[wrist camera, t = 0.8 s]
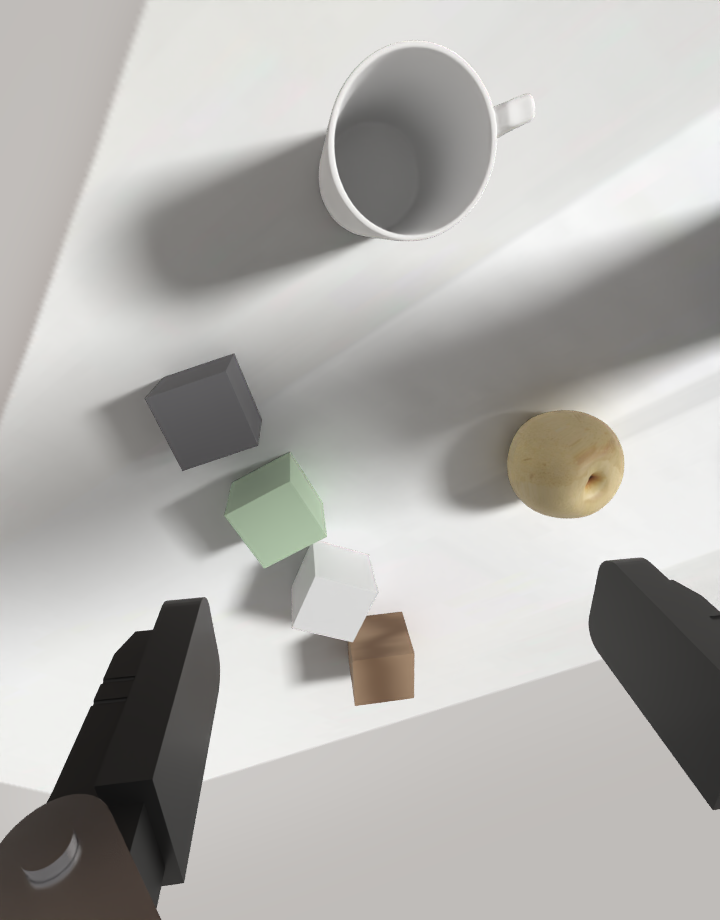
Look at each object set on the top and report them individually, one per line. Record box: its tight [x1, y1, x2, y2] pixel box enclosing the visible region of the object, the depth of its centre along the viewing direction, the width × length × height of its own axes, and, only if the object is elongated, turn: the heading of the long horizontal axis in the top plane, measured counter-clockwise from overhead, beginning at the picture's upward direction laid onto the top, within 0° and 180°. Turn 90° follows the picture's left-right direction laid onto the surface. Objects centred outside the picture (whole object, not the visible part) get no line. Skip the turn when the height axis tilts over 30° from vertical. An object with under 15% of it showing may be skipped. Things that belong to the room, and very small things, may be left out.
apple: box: [507, 410, 624, 518], centre depth 37 cm, size 8×8×8 cm
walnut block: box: [348, 612, 414, 706], centre depth 43 cm, size 5×5×5 cm
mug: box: [319, 40, 535, 241], centre depth 25 cm, size 10×7×12 cm, turn 108°
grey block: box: [291, 541, 378, 642], centre depth 39 cm, size 5×5×5 cm
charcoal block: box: [145, 354, 262, 471], centre depth 32 cm, size 5×5×5 cm
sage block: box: [224, 452, 327, 569], centre depth 36 cm, size 5×5×5 cm
